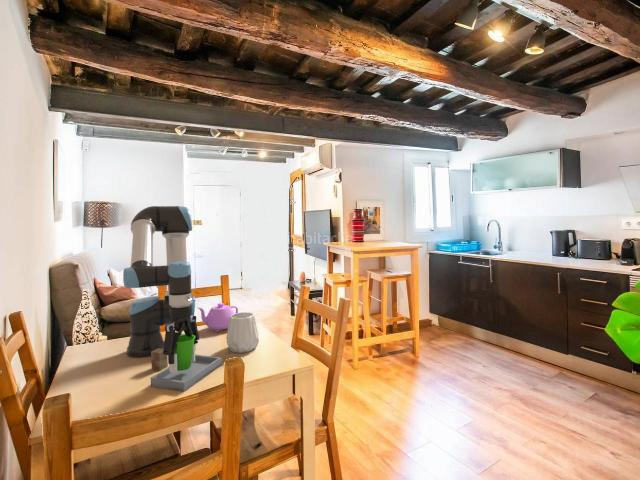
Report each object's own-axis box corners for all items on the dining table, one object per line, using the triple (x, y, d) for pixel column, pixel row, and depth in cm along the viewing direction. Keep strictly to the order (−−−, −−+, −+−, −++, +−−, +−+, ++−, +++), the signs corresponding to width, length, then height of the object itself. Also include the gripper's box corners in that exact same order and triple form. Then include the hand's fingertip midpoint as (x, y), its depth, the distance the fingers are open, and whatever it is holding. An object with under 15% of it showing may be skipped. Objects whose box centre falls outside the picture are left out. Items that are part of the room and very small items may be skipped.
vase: (229, 356, 143) (228, 321, 142) (224, 345, 156) (223, 313, 155) (262, 351, 149) (261, 317, 148) (254, 341, 162) (254, 309, 161)
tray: (150, 386, 118) (150, 377, 118) (192, 361, 139) (191, 353, 139) (184, 391, 114) (184, 382, 114) (222, 365, 135) (221, 357, 135)
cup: (200, 363, 127) (199, 334, 127) (188, 373, 118) (187, 342, 118) (177, 362, 128) (176, 333, 128) (164, 373, 119) (163, 342, 119)
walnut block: (151, 369, 131) (151, 351, 131) (159, 365, 135) (158, 348, 135) (160, 370, 130) (159, 352, 130) (167, 366, 134) (167, 349, 134)
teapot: (201, 337, 168) (200, 310, 167) (194, 329, 181) (193, 303, 180) (244, 329, 179) (243, 303, 179) (234, 322, 192) (234, 298, 192)
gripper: (167, 313, 111) (170, 381, 112) (208, 299, 131) (209, 356, 133) (148, 312, 113) (151, 378, 114) (191, 297, 134) (193, 354, 135)
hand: (182, 366), depth 123 cm, fingers closed on cup, 9 cm apart
